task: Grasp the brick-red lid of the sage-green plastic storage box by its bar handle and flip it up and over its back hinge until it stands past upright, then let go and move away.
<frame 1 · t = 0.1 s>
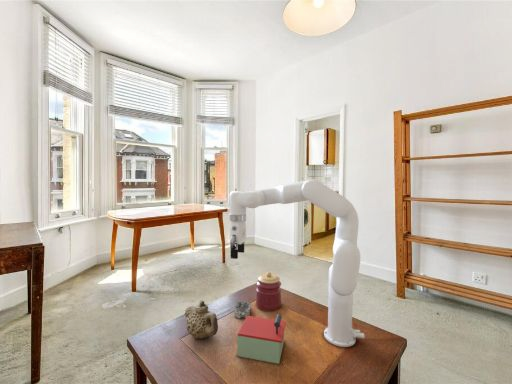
hand: (237, 255, 112), 31 cm above the table, tool pointing down, fingers open, 9 cm apart
egg carton: (242, 313, 121), on the table
kitchen canister: (268, 305, 129), on the table
storage box: (261, 348, 95), on the table
lid: (262, 322, 94), point 11 cm above the table, hinge at 0.0°
teapot: (201, 336, 102), on the table
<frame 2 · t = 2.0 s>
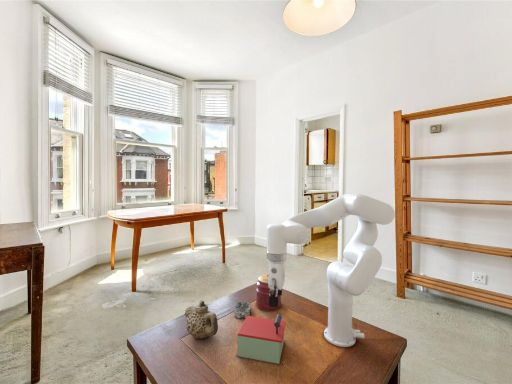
hand: (275, 300, 93), 19 cm above the table, tool pointing down, fingers open, 9 cm apart
nothing on the table moved.
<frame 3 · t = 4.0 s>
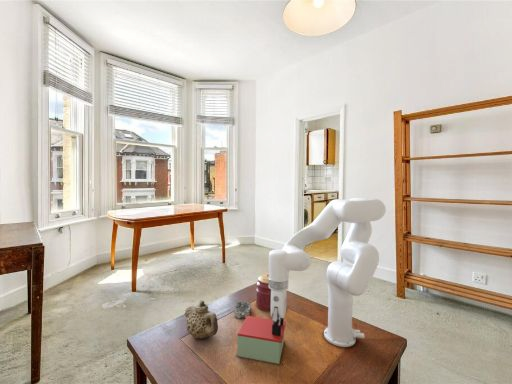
hand: (277, 329, 93), 9 cm above the table, tool pointing down, fingers closed on lid, 6 cm apart
lid: (262, 322, 94), point 10 cm above the table, hinge at -0.2°, touching gripper, storage box
everything else where it was.
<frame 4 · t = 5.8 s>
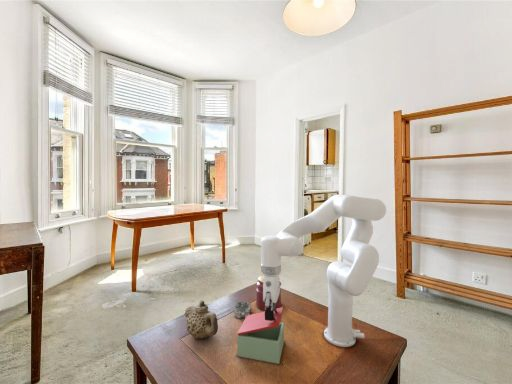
hand: (270, 314, 93), 14 cm above the table, tool pointing down, fingers closed on lid, 6 cm apart
lid: (259, 314, 95), point 13 cm above the table, hinge at 20.8°, touching gripper
everything else where it was.
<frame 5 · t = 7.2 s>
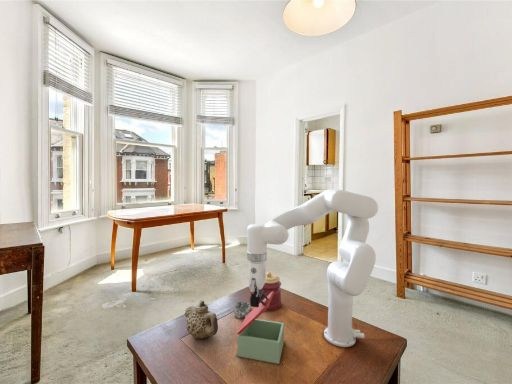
hand: (256, 301, 95), 18 cm above the table, tool pointing down, fingers closed on lid, 6 cm apart
lid: (252, 307, 95), point 16 cm above the table, hinge at 47.1°, touching gripper
everything else where it was.
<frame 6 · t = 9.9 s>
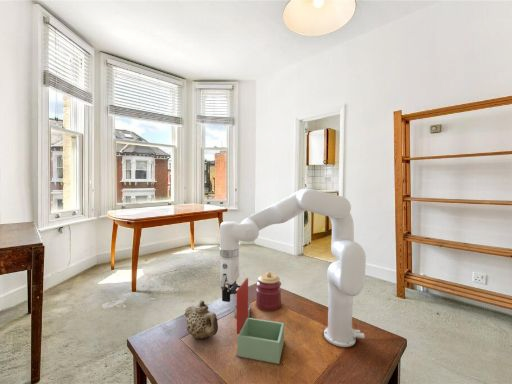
hand: (229, 296, 97), 19 cm above the table, tool pointing down, fingers closed on lid, 6 cm apart
lid: (237, 303, 97), point 16 cm above the table, hinge at 90.2°, touching gripper
everything else where it was.
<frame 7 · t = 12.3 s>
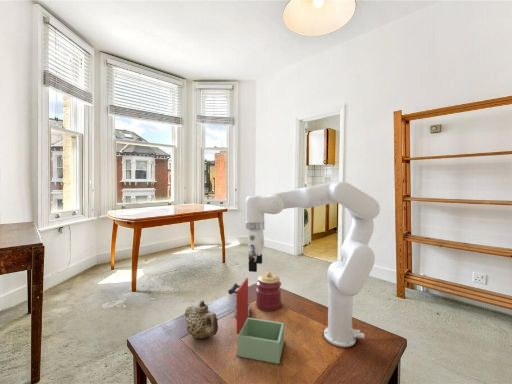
hand: (255, 267, 100), 30 cm above the table, tool pointing down, fingers open, 9 cm apart
lid: (237, 303, 97), point 16 cm above the table, hinge at 90.4°
everything else where it was.
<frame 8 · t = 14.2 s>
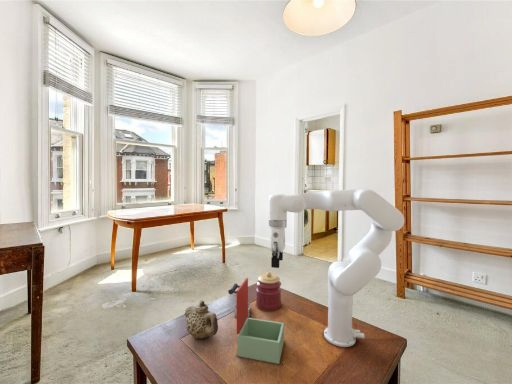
hand: (277, 263, 103), 30 cm above the table, tool pointing down, fingers open, 9 cm apart
nothing on the table moved.
at the end: lid at +90° (first picture: +0°); lid reached +90° during the clip, +90° at the end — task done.
